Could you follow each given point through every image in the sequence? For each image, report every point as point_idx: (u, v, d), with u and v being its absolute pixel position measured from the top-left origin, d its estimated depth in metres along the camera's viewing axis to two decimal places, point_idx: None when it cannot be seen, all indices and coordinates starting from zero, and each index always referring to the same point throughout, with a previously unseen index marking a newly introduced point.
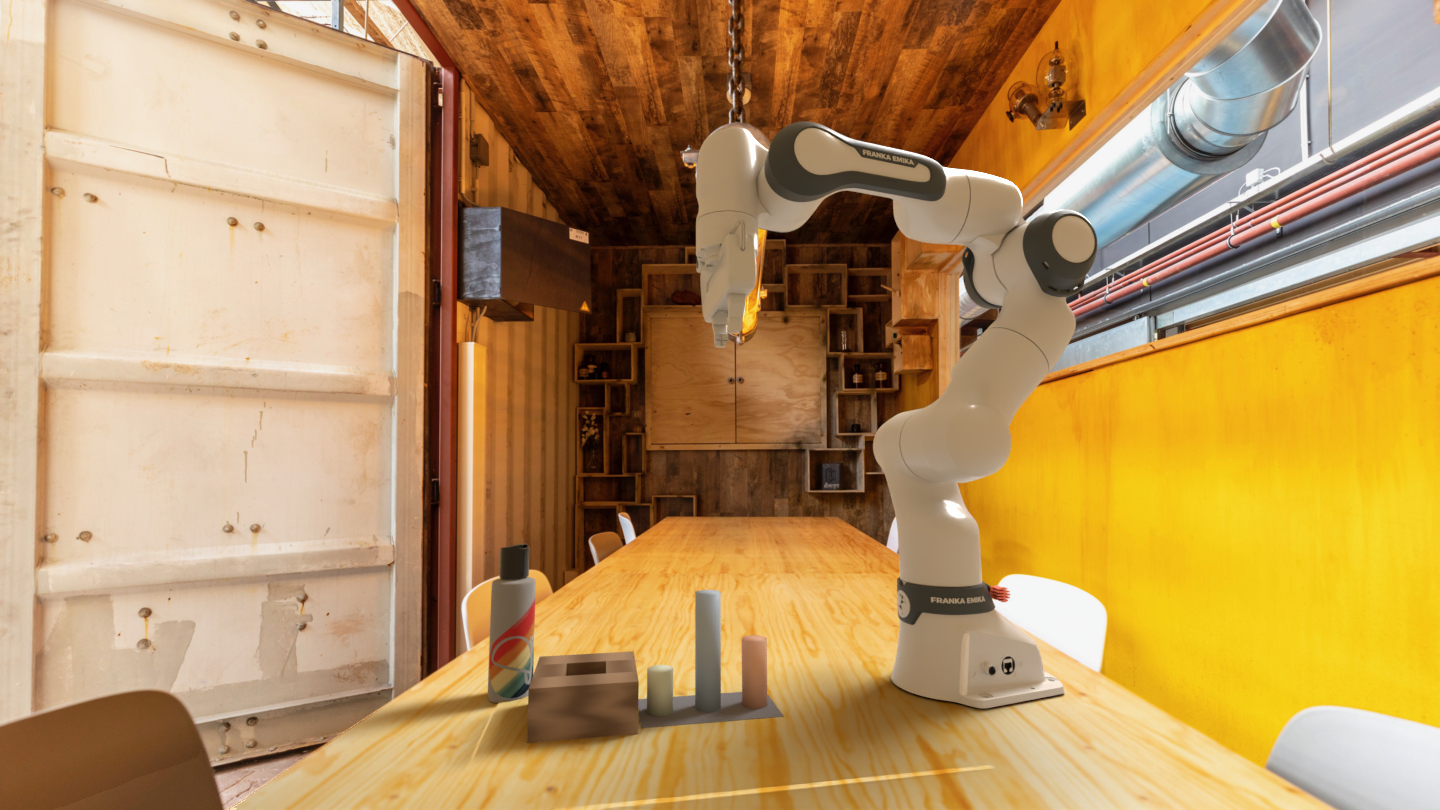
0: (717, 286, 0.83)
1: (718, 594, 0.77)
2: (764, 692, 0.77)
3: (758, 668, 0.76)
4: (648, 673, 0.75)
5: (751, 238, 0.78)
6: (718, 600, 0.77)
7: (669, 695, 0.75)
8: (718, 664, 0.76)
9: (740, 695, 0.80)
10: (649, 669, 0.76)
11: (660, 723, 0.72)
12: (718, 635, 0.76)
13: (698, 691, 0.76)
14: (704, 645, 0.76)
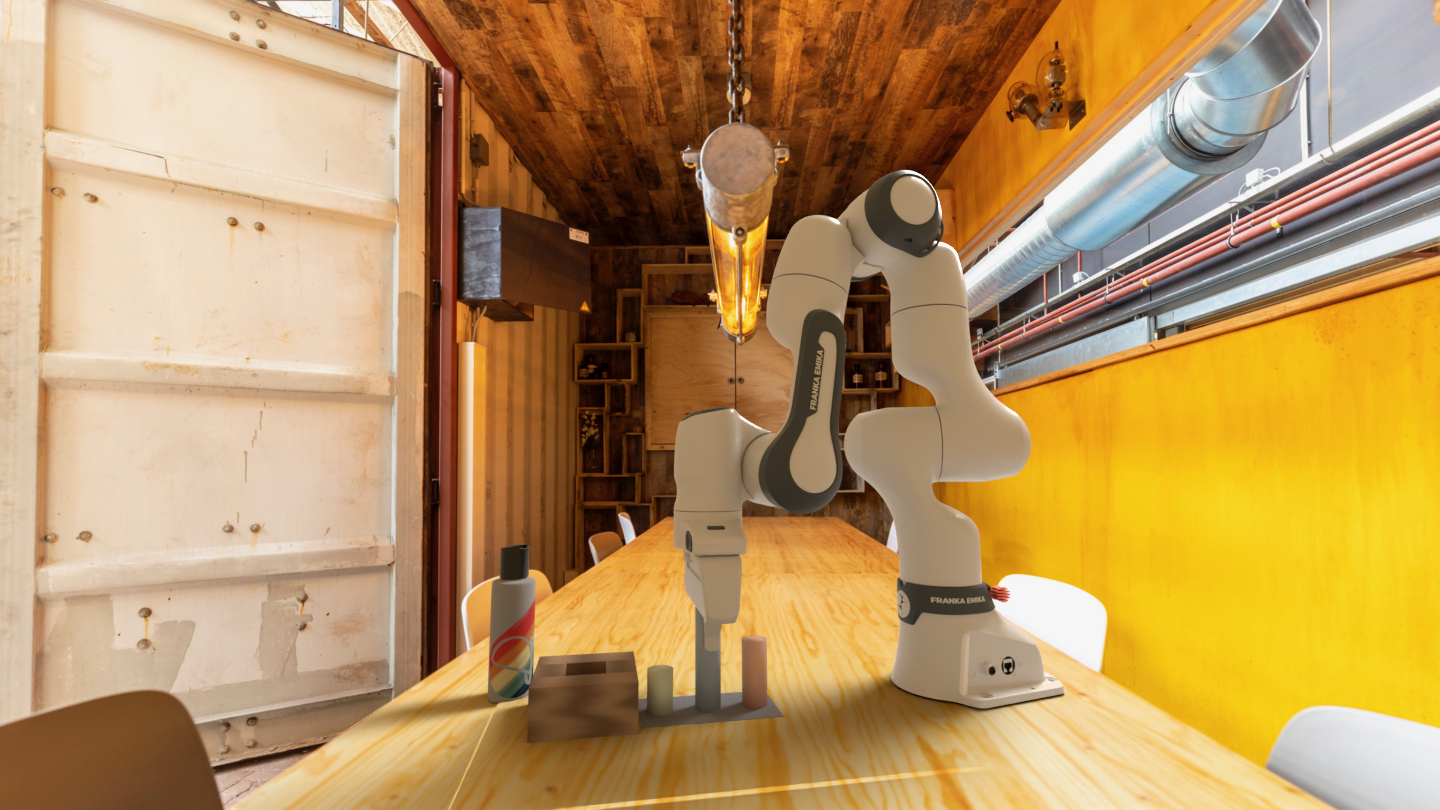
0: None
1: None
2: (764, 692, 0.77)
3: (758, 668, 0.76)
4: (648, 673, 0.75)
5: None
6: None
7: (669, 695, 0.75)
8: (718, 664, 0.76)
9: (740, 695, 0.80)
10: (649, 669, 0.76)
11: (660, 723, 0.72)
12: None
13: (698, 691, 0.76)
14: None
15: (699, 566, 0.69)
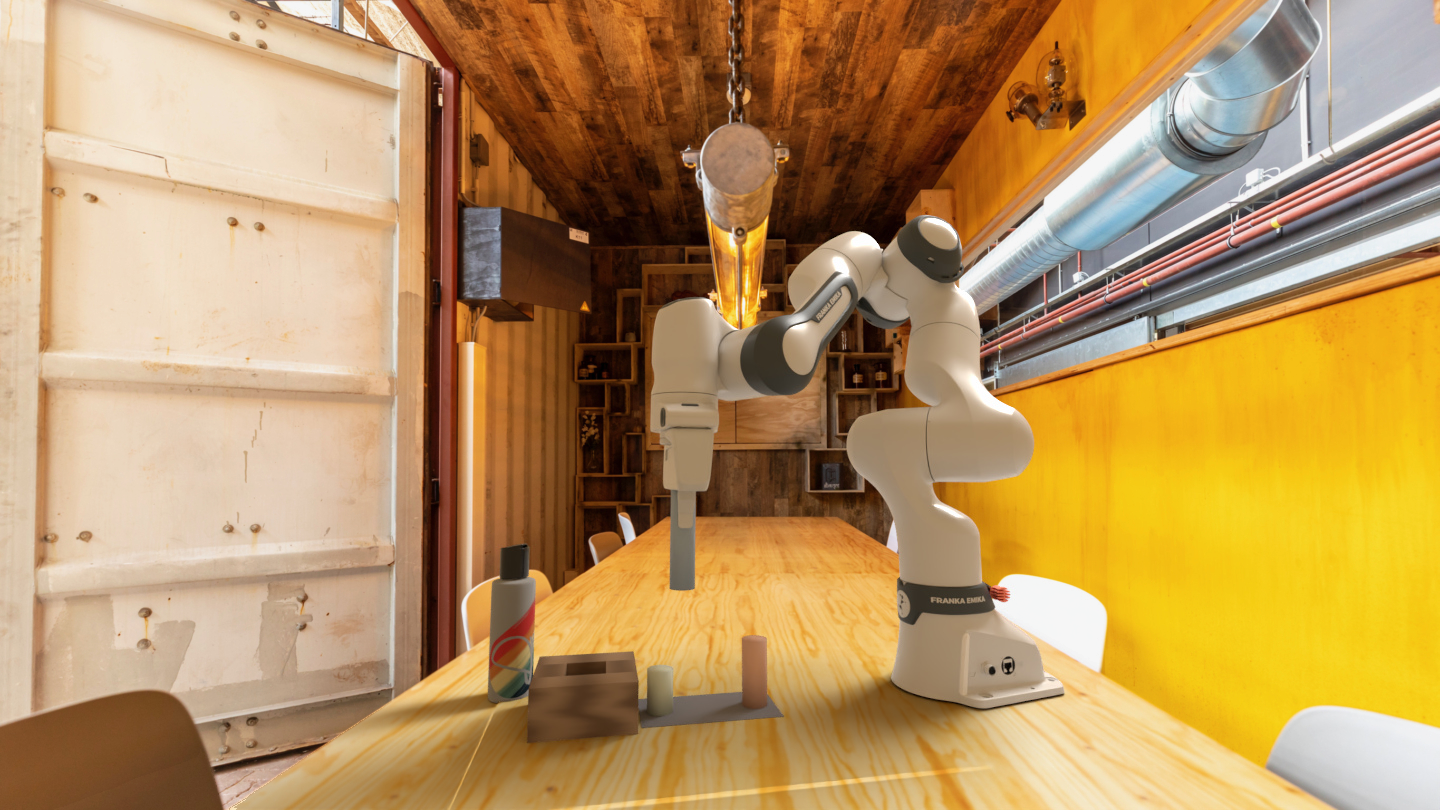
0: None
1: None
2: (764, 692, 0.77)
3: (758, 668, 0.76)
4: (648, 673, 0.75)
5: None
6: None
7: (669, 695, 0.75)
8: (692, 545, 0.77)
9: (740, 695, 0.80)
10: (649, 669, 0.76)
11: (660, 723, 0.72)
12: (693, 517, 0.78)
13: (672, 571, 0.77)
14: (678, 526, 0.77)
15: (671, 436, 0.71)
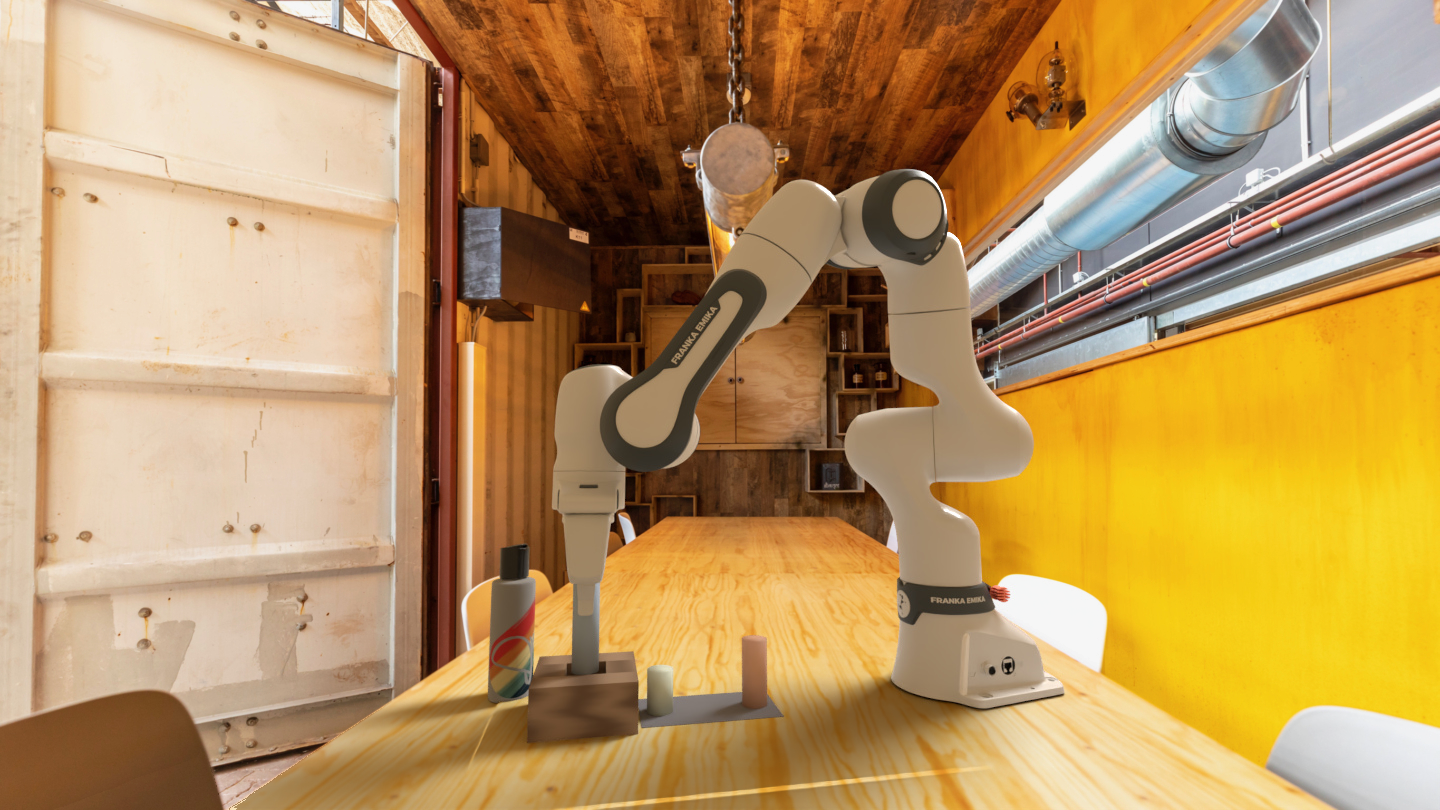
0: None
1: None
2: (764, 692, 0.77)
3: (758, 668, 0.76)
4: (648, 673, 0.75)
5: None
6: None
7: (669, 695, 0.75)
8: (595, 625, 0.73)
9: (740, 695, 0.80)
10: (649, 669, 0.76)
11: (660, 723, 0.72)
12: (596, 595, 0.74)
13: (573, 653, 0.73)
14: None
15: (564, 524, 0.67)
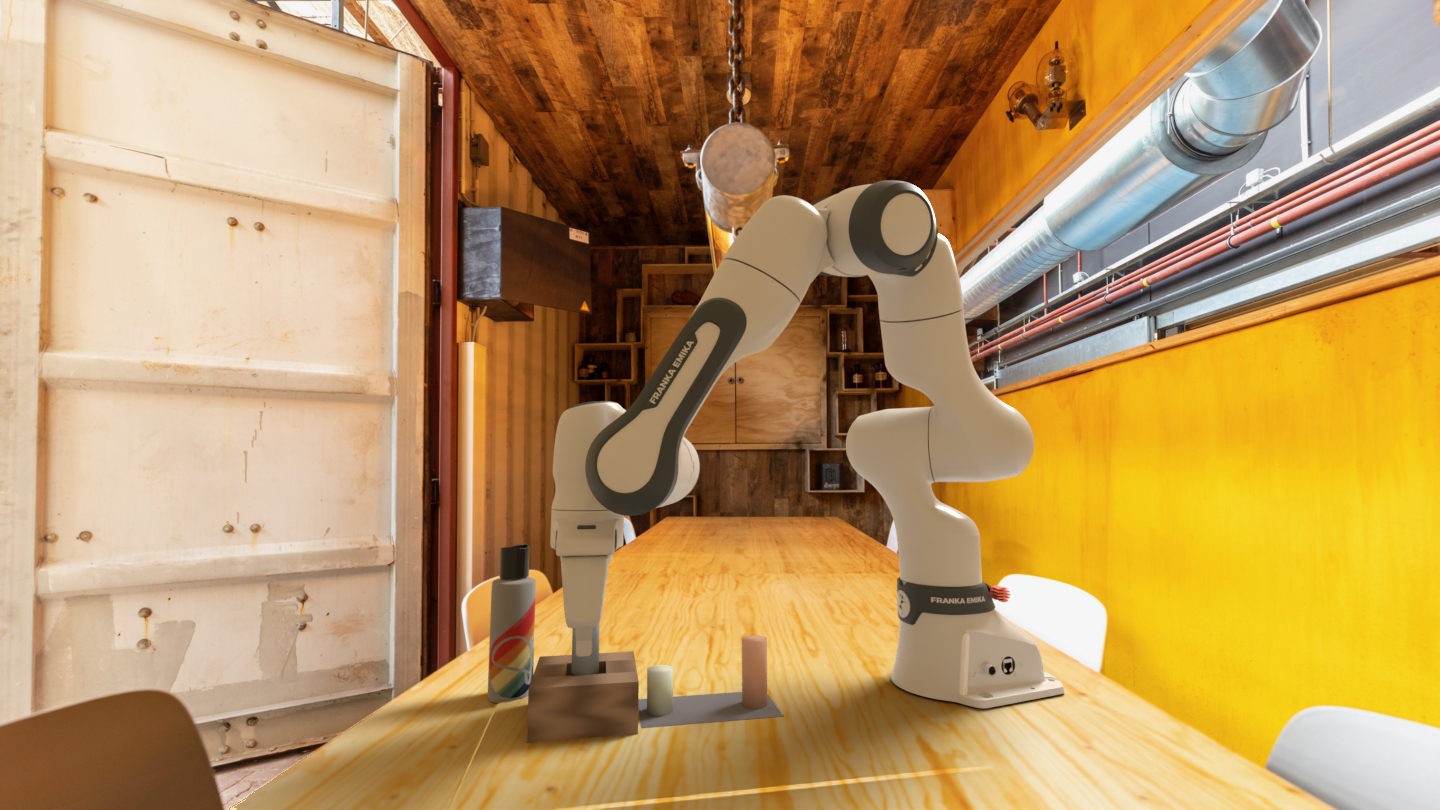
0: None
1: None
2: (764, 692, 0.77)
3: (758, 668, 0.76)
4: (648, 673, 0.75)
5: None
6: None
7: (669, 695, 0.75)
8: None
9: (740, 695, 0.80)
10: (649, 669, 0.76)
11: (660, 723, 0.72)
12: None
13: (574, 653, 0.73)
14: None
15: (561, 567, 0.67)
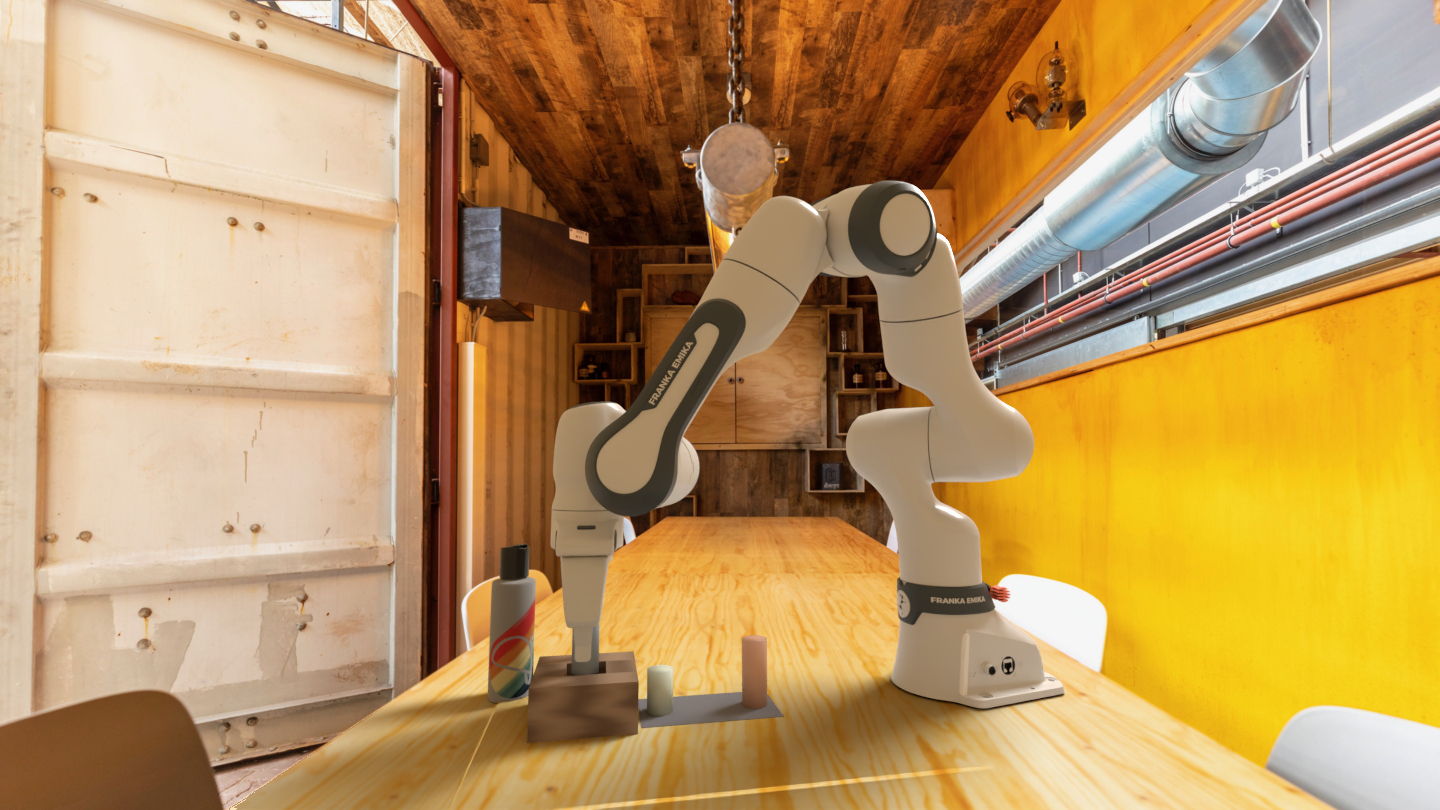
0: None
1: None
2: (764, 692, 0.77)
3: (758, 668, 0.76)
4: (648, 673, 0.75)
5: None
6: None
7: (669, 695, 0.75)
8: None
9: (740, 695, 0.80)
10: (649, 669, 0.76)
11: (660, 723, 0.72)
12: None
13: (574, 653, 0.73)
14: None
15: (561, 567, 0.67)
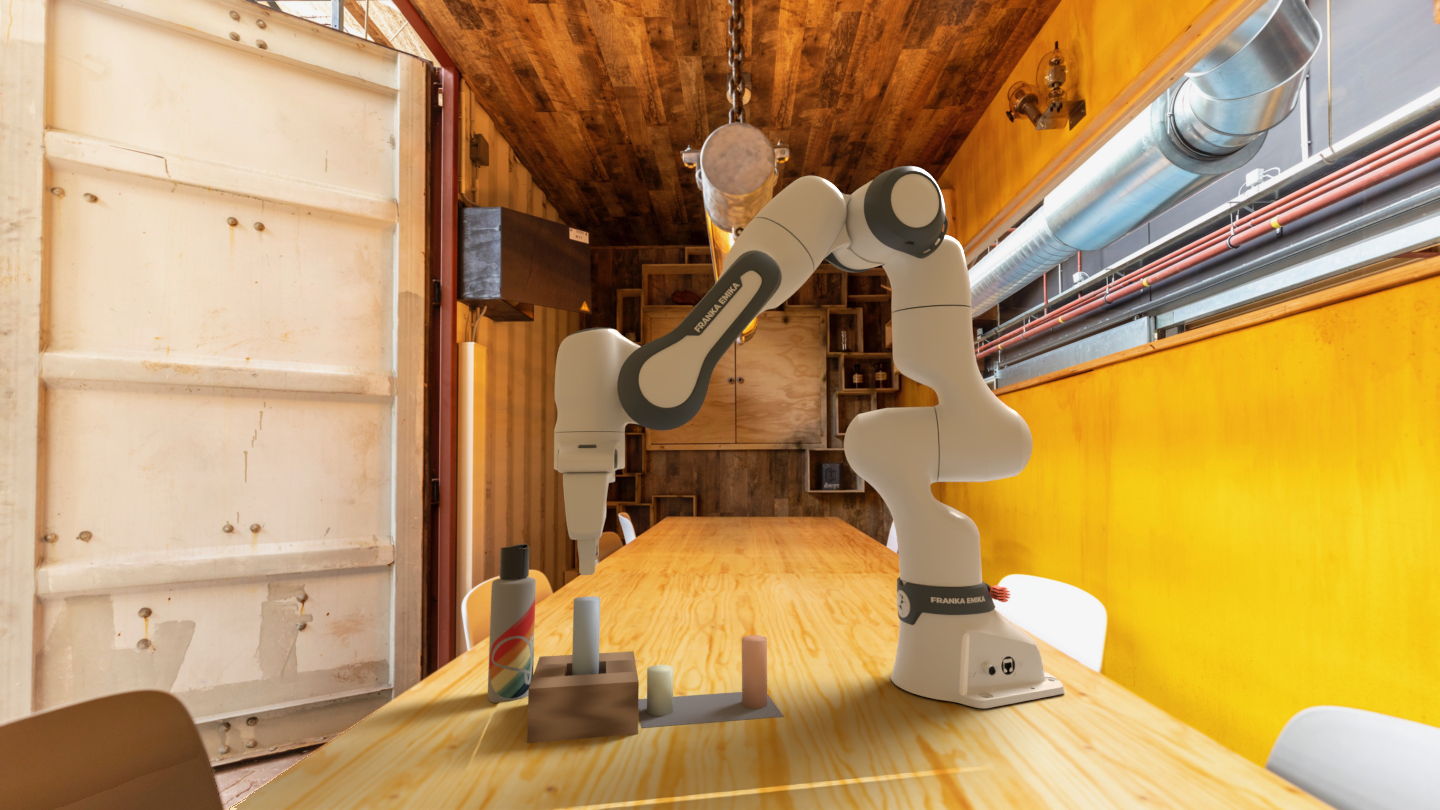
0: None
1: (596, 601, 0.75)
2: (764, 692, 0.77)
3: (758, 668, 0.76)
4: (648, 673, 0.75)
5: None
6: (595, 607, 0.75)
7: (669, 695, 0.75)
8: (594, 673, 0.74)
9: (740, 695, 0.80)
10: (649, 669, 0.76)
11: (660, 723, 0.72)
12: (595, 643, 0.74)
13: None
14: (578, 654, 0.74)
15: (563, 482, 0.69)
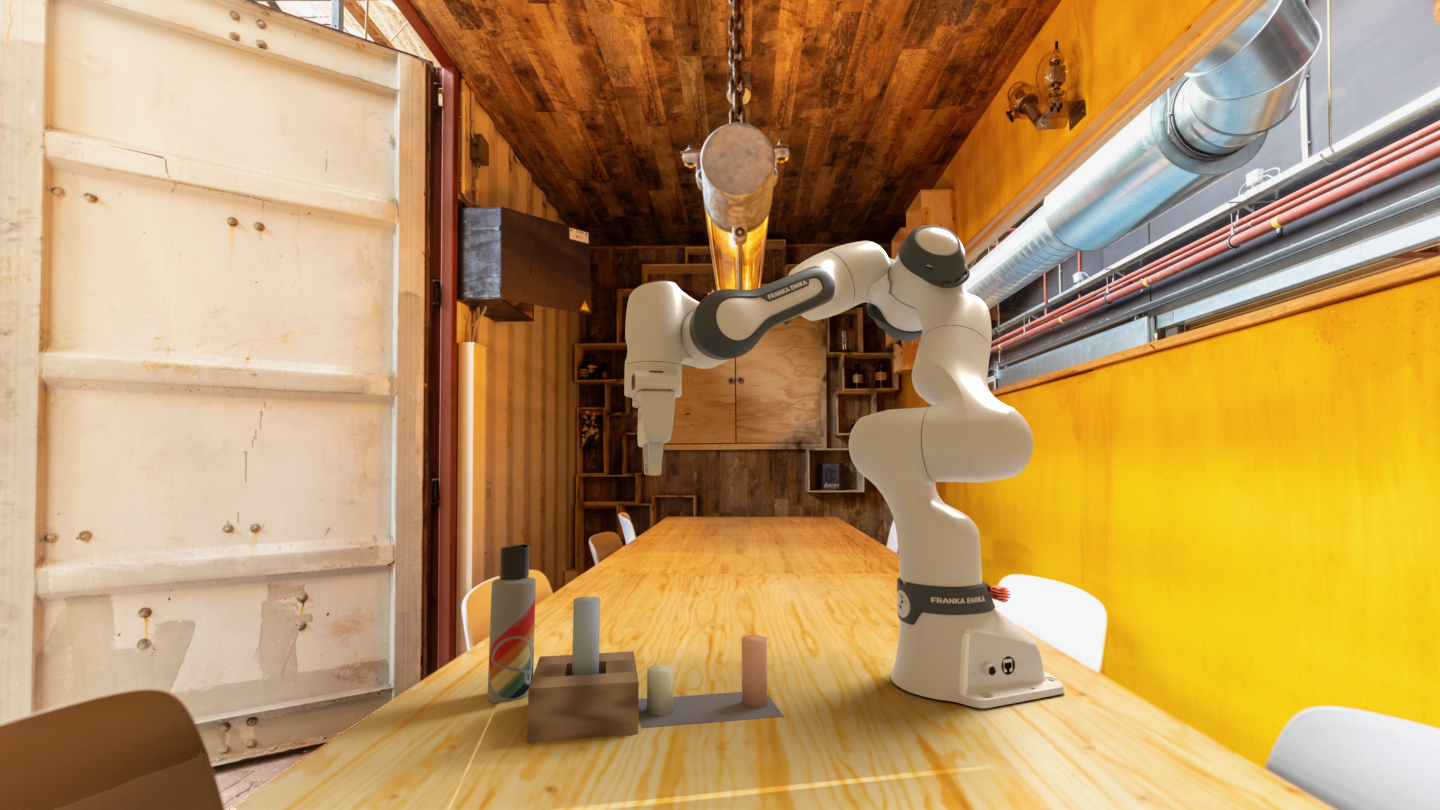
0: None
1: (595, 601, 0.75)
2: (764, 692, 0.77)
3: (758, 668, 0.76)
4: (648, 673, 0.75)
5: None
6: (595, 607, 0.75)
7: (669, 695, 0.75)
8: (594, 673, 0.74)
9: (740, 695, 0.80)
10: (649, 669, 0.76)
11: (660, 723, 0.72)
12: (595, 644, 0.74)
13: None
14: (578, 654, 0.74)
15: (640, 396, 0.85)
